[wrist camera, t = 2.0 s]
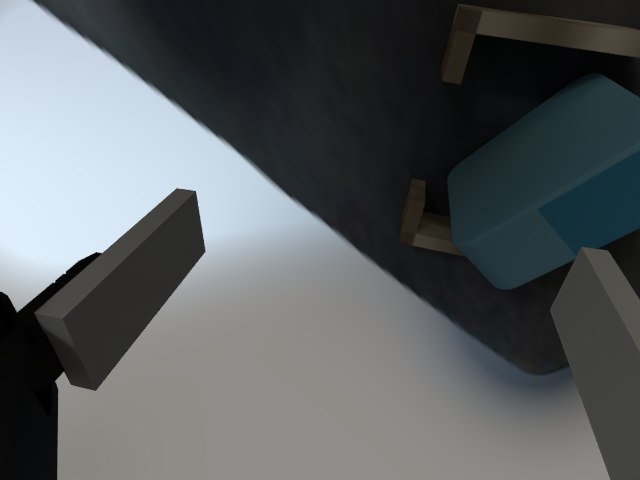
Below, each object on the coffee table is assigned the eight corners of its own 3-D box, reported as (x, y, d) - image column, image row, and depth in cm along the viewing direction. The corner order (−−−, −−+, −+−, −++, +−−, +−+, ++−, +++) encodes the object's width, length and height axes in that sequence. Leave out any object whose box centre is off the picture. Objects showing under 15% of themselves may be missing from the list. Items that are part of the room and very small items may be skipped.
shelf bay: (401, 218, 37) (398, 242, 34) (458, 3, 27) (462, 8, 24) (522, 243, 36) (531, 270, 33) (630, 27, 26) (658, 35, 23)
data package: (477, 207, 35) (495, 299, 25) (444, 171, 34) (451, 253, 24) (624, 115, 29) (725, 190, 19) (591, 66, 27) (680, 120, 18)
